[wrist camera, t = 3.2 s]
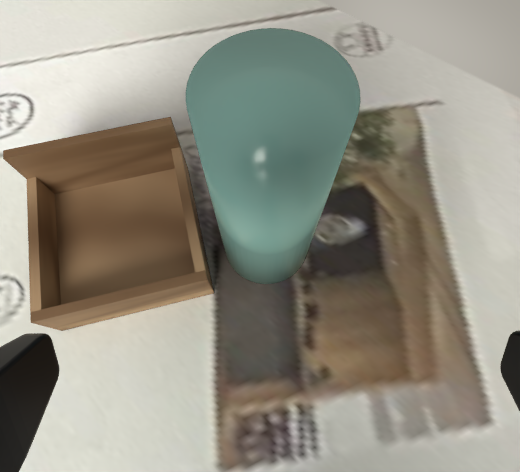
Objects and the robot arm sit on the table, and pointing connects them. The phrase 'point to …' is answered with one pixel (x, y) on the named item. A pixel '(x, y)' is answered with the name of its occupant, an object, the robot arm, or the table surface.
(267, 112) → the teal round cylinder
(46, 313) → the walnut tray
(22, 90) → the table surface
